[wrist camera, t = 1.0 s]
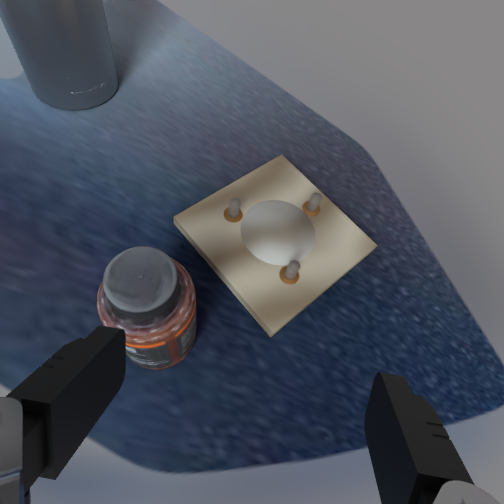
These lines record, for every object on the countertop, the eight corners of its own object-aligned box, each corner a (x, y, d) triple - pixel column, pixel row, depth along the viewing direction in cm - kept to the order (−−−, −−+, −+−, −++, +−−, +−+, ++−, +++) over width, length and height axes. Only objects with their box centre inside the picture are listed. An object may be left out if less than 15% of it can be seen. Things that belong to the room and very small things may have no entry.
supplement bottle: (194, 296, 31) (194, 227, 22) (199, 366, 29) (202, 324, 19) (121, 302, 30) (87, 232, 20) (120, 375, 28) (79, 336, 18)
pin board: (174, 223, 34) (172, 204, 32) (279, 161, 40) (285, 140, 37) (270, 337, 31) (278, 326, 28) (372, 251, 36) (387, 235, 33)
